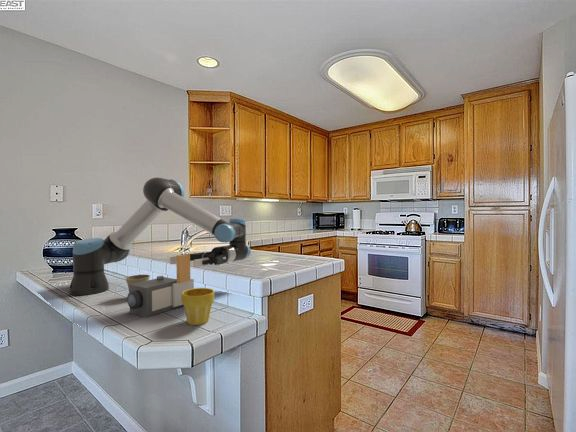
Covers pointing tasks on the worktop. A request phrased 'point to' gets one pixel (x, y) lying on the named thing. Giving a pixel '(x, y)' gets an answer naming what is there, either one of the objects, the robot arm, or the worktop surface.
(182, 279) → the sliding cover
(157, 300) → the camera body
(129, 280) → the flower pot
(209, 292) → the plant pot
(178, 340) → the worktop surface
